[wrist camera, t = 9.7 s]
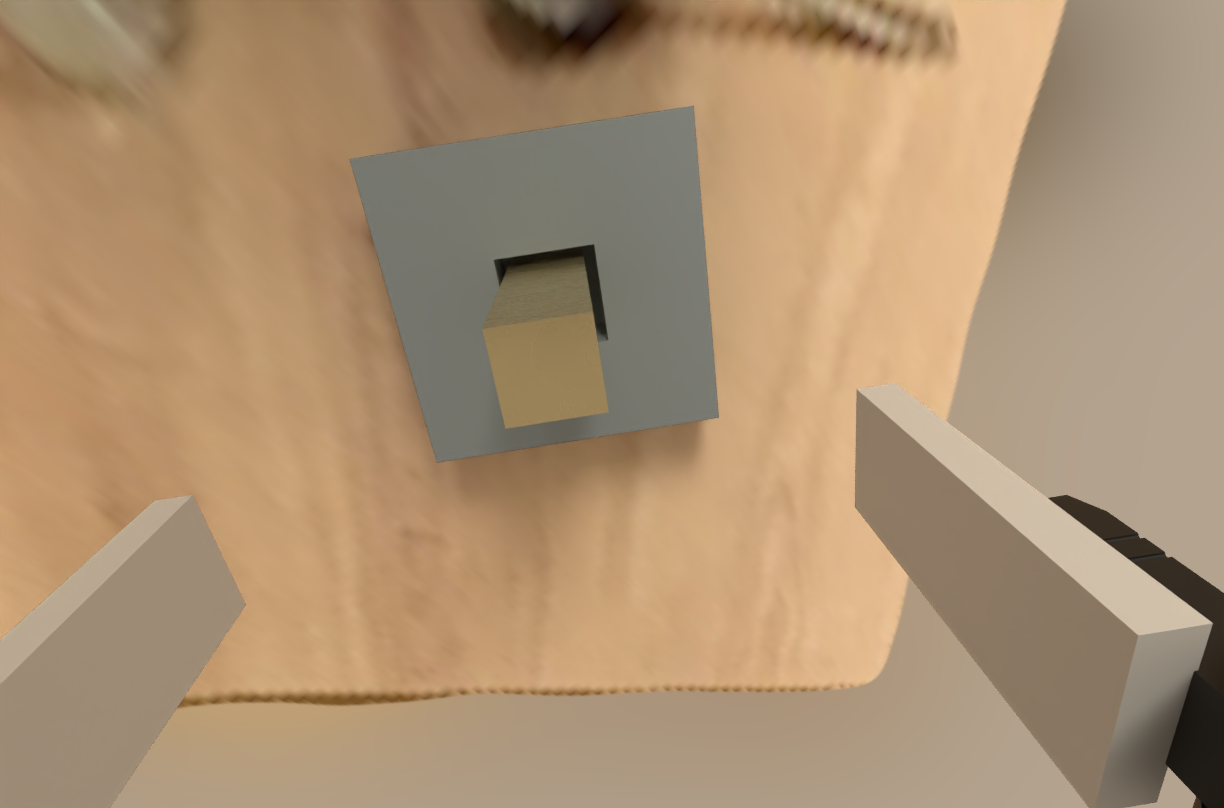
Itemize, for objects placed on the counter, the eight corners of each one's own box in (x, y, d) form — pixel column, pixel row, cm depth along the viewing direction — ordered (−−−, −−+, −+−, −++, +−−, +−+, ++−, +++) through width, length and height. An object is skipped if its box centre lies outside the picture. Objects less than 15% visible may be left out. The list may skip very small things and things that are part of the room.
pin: (511, 258, 30) (482, 328, 19) (582, 247, 30) (592, 311, 19) (525, 326, 32) (505, 428, 21) (592, 315, 32) (608, 412, 21)
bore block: (373, 156, 29) (349, 158, 25) (679, 109, 29) (693, 106, 26) (448, 431, 34) (436, 462, 31) (704, 391, 34) (718, 417, 31)
